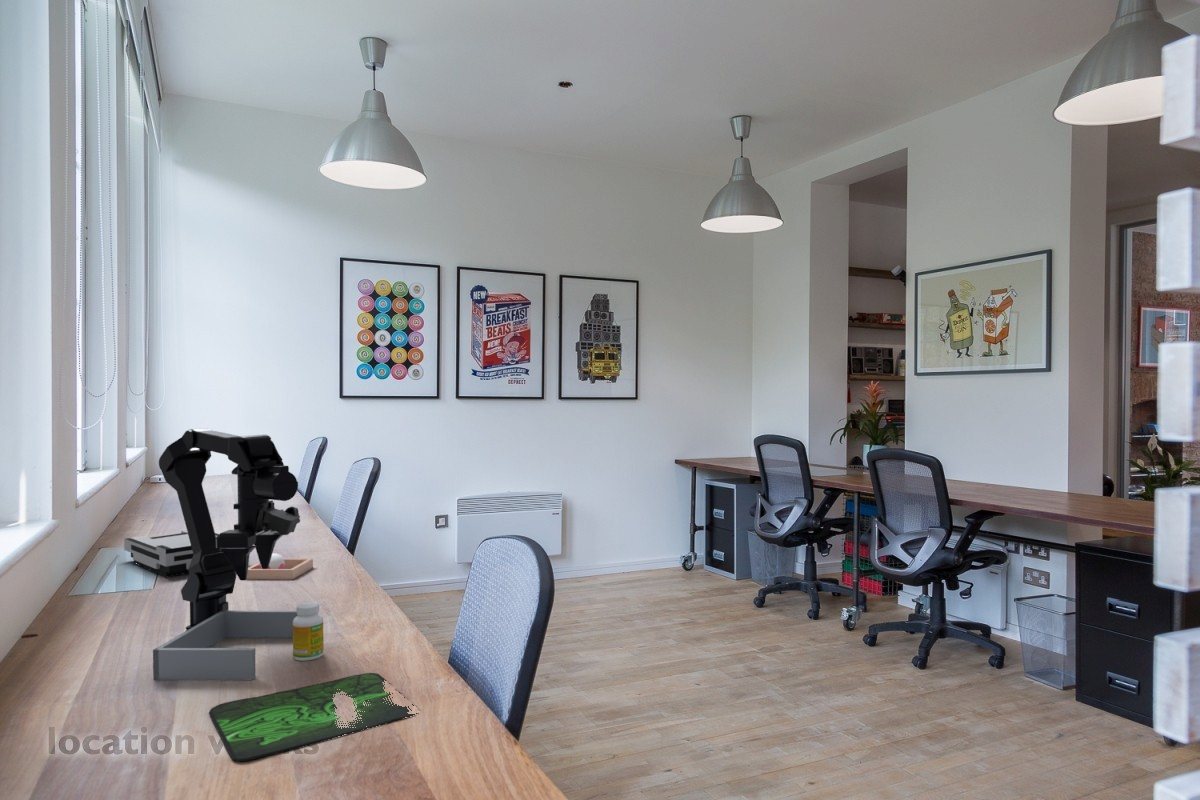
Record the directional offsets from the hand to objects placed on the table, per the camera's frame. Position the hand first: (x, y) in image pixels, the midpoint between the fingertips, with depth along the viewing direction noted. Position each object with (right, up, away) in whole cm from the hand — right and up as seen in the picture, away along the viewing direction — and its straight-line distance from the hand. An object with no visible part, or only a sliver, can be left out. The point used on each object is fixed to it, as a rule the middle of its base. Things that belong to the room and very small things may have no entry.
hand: (254, 574), depth 152 cm
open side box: (+1, -13, -10) cm, 16 cm away
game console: (-51, -13, +66) cm, 85 cm away
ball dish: (-18, -12, +54) cm, 58 cm away
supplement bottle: (+15, -13, -10) cm, 22 cm away
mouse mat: (+25, -14, -34) cm, 45 cm away
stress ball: (-20, -13, +52) cm, 57 cm away
